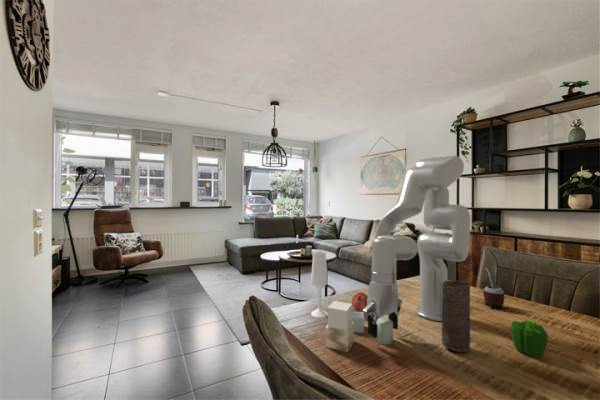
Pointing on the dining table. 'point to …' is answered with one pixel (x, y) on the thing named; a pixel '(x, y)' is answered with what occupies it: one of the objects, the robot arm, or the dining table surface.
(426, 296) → the robot arm
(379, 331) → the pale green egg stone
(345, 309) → the tower top
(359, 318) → the grey cube
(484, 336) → the dining table surface
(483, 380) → the dining table surface
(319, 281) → the champagne flute
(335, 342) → the tower base
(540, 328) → the bell pepper
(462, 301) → the candle
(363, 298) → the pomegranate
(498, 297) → the mate gourd
